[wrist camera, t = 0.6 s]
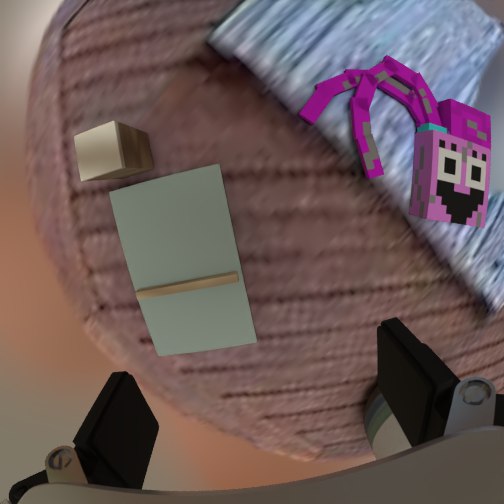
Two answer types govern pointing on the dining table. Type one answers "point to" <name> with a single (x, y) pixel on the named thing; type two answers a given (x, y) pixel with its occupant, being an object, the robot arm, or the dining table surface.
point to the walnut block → (112, 152)
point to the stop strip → (188, 285)
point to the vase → (383, 427)
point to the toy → (421, 141)
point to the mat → (184, 260)
